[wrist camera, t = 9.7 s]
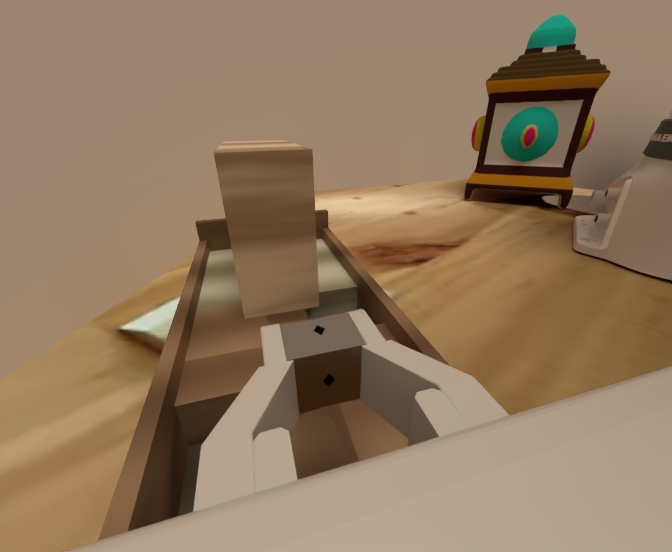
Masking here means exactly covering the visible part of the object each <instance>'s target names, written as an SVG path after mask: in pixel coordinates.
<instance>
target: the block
mask: <svg viewBox="0 0 672 552" xmlns="http://www.w3.org/2000/svg"><path fill="white" fill-rule="evenodd" d="M214 156H215V162H216V167H217V173H218V178H219V183H220V189H221V194H222V200H223V205H224V210H225V216H226V222H227V227H228V232H229V238H230V243H231V249H232V254H233V260H234V265H235V271H236V276H237V281H238V287H239V292H240V298H241V303H242V309H243V314H244V319H247V318H253V317H259V316H265V315H271V314H277V313H283V312H289V311H295V310H301V309H307V308H313V307H319V285H318V264H317V242H316V220H315V198H314V179H313V178H314V177H313V155H312V149H310V148H307V147H304V146H300V145H297V144H294V143H291V142H288V141H285V140H268V141H233V142H223V143H222V144H221V145H220V147H218V149H217V150H216V151H215V152H214Z"/></svg>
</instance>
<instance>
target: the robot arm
mask: <svg viewBox="0 0 672 552" xmlns="http://www.w3.org/2000/svg"><path fill="white" fill-rule="evenodd" d="M669 118H672V111H671V113H670V116H669ZM643 154H644V155H645V157H644V158H643V159H642V160H641V161H640V162H639V163H638V164H637V165H635V166H634V167H633V168H631V169H630V170H629V171H627V172H626V173H625V174H624V175H622V176H621V177H620V178H618V179H617V180H616V181H615V182H614V183H612V184H611V185H609V186H608V187H607V189H606V191H602V190H596V191H594V192H593V193H592V196H591V199H590V202H589V207H590V208H594V209H598V210H597V212H596V215H595V216H594V215H591V216H576V217H575V219H574V221H573V249H574V250H576V251H578V252H581V253H585V254H588V255H592V256H596V257H600V258H603V259H606V260H609V261H612V262H614V263H617V264H619V265H622V266H625V267H627V268H630V269H633V270H636V271H639V272H642V273H646V274H649V275H653V276H656V277H660V278H664V279H668V280H672V119H664V120H663V121H662V122H661V124H660V126H659V127H658V129H657V130H656V132H655V133H653V134H652V136H651V138H650V142H649V144H648V145H647V147H646V148H645V150H644V152H643ZM279 324H280V325H279ZM279 324H273V325H267V326H262V327H261V329H260V330H261V339H262V349H263V358H264V366H262V367H258V369H257V370H256V372H255V373H254V374H253V376H252V377H251V378H250V380H249V381H248V382H247V384H246V385H245V387H244V388H243V389H242V391H241V392H240V393H239V395H238V396H237V397H236V399H235V400H234V402H233V403H232V404H231V406H230V407H229V408H228V410H227V411H226V413H225V414H224V415H223V417H222V418H221V419H220V421H219V422H218V423H217V425H216V426H215V428H214V429H213V430H212V432H211V433H210V434H209V436H208V437H207V439H206V440H205V441H204V443H203V444H202V445H201V452H200V460H199V468H198V476H197V484H196V492H195V500H194V509H193V512H190V513H187V514H184V515H181V516H177V517H174V518H171V519H167V520H164V521H161V522H158V523H154V524H151V525H148V526H144V527H141V528H138V529H135V530H131V531H128V532H125V533H121V534H118V535H115V536H112V537H108V538H105V539H102V540H98V541H95V542H92V543H89V544H85V545H82V546H79V547H75V548H72V549H69V550H66V551H62V552H672V366H670V367H666V368H663V369H660V370H657V371H653V372H650V373H647V374H643V375H640V376H637V377H633V378H630V379H627V380H624V381H620V382H617V383H614V384H610V385H607V386H604V387H601V388H597V389H594V390H591V391H587V392H584V393H581V394H578V395H574V396H571V397H568V398H564V399H561V400H558V401H555V402H551V403H548V404H545V405H541V406H538V407H535V408H532V409H528V410H525V411H522V412H518V413H515V414H512V415H509V414H508V413H507V412H506V411H505V410H504V409H503V408H502V407H501V406H500V405H499V404H498V403H497V402H496V401H495V399H494V398H493V397H492V396H491V395H490V394H489V393H488V392H487V391H486V390H485V389H484V388H483V387H482V386H481V385H480V383H479V382H478V381H477V380H476V379H475V378H474V377H473V376H471V375H468V374H466V373H464V372H462V371H459V370H457V369H455V368H453V367H450V366H448V365H446V364H444V363H441V362H439V361H437V360H435V359H432V358H430V357H428V356H426V355H423V354H421V353H419V352H417V351H415V350H412V349H410V348H408V347H406V346H403V345H401V344H399V343H397V342H394V341H392V340H388V341H386V340H385V339H384V337H383V336H382V334H381V333H380V332H379V330H378V329H377V327H376V326H375V324H374V323H373V322H372V320H371V319H370V317H369V316H368V314H367V313H366V312H365V310H363V309H359V310H354V311H349V312H346V313H341V314H336V315H330V316H325V317H320V318H312V319H305V320H299V321H292V322H286V323H279ZM357 399H360V401H361V402H363V403H364V404H365V405H366V406H368V407H369V408H370V409H372V410H373V411H374V412H375V413H377V414H378V415H379V416H380V417H382V418H383V419H384V420H385V421H387V422H388V423H389V424H390V425H392V426H393V427H394V428H395V429H397V430H398V431H399V432H400V433H402V434H403V435H404V436H405V437H407V438H408V439H409V440H408V446H407V447H404V448H401V449H397V450H394V451H391V452H387V453H384V454H381V455H378V456H374V457H371V458H368V459H364V460H361V461H358V462H355V463H351V464H348V465H345V466H341V467H338V468H335V469H332V470H328V471H325V472H322V473H318V474H315V475H312V476H309V477H305V478H302V479H299V480H297V474H296V468H295V463H294V457H293V452H292V446H291V440H290V439H291V437H292V434H293V431H294V429H295V426H296V423H297V421H298V418H299V414H301V413H305V412H308V411H312V410H316V409H319V408H323V407H326V406H330V405H334V404H339V403H343V402H348V401H353V400H357Z"/></svg>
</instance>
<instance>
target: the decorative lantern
mask: <svg viewBox="0 0 672 552" xmlns="http://www.w3.org/2000/svg"><path fill="white" fill-rule="evenodd" d="M575 37H576V28H575V26H574V25H573V24H572V22H571V21H570V20H569V19H568V18H567V17H566V16H563V15H555V16H552V17H550V18H549V19H547V20H546V21H545V22H543V23H542V24H541V25H540V26H539V27H538V28H537V29H536V30H535V31H534V32H533V33H532V35H531V37H530V39H529V41H528V45H527V49H526V51H525V54H524V55H521V56H520V57H519V58H518V60H517V61H514V62H513V63H512V64H511V66H507V67H501V68H499V70H498V72H497V73H494V74H492V76H491V78H489V79H488V80H487V81H486V87H487V92H488V96H489V103H488V108H487V114H486V116H483V117H480V118H479V119H478V120H477V122H476V123H475V126H474V128H473V132H472V147H473V149H474V150H475V151H479V156H478V161H477V166H476V170H475V171H474V172H473V174H472V175H471V177H470V178H469V180H468V182H467V184H466V189H465V199H466V201H470V200H471V199H472V196H473V193H474V191H475V189H477V188H488V189H502V190H517V191H531V192H545V193H556V194H558V195H559V201H558V208H559V209H564V208H566V207H567V205H568V204H569V201H570V199H571V196H572V193H573V187H572V180H571V176H570V172H571V168H572V165H573V162H574V159H575V156H576V153H578V152H580V151H582V150H583V149H584V148H585V147H586V145H587V144H588V142H589V140H590V138H591V135H592V133H593V130H594V118H593V116H592V115H591V114H589V112H590V109H591V105H592V103H593V100H594V97H595V94H596V92H597V91H598V90H599V88H600V87H601V86H602V85H603V84H604V82H605V81H606V80H607V78H608V77H609V75H610V71H609V70H607V69H606V65H602V64H600V60H599V59H590V60H586V56H585V55H581V53H580V50H576V49H575V46H576V44H574V41H575Z"/></svg>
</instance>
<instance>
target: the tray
mask: <svg viewBox="0 0 672 552" xmlns="http://www.w3.org/2000/svg"><path fill="white" fill-rule="evenodd" d="M315 220H316V242H317V264H318V285H319V307H313V308H307V309H301V310H295V311H289V312H283V313H277V314H271V315H265V316H259V317H253V318H247V319H244V314H243V309H242V303H241V298H240V292H239V287H238V281H237V276H236V271H235V265H234V260H233V254H232V249H231V243H230V238H229V232H228V227H227V222H226V218H225V219H213V220H203V221H196V227H197V231H198V236H199V240H200V242H199V244H198V247H197V250H196V253H195V256H194V259H193V262H192V265H191V268H190V271H189V274H188V277H187V280H186V283H185V286H184V289H183V292H182V295H181V298H180V301H179V304H178V306H177V309H176V312H175V315H174V318H173V321H172V324H171V327H170V330H169V333H168V336H167V339H166V342H165V345H164V348H163V351H162V354H161V357H160V360H159V363H158V366H157V369H156V371H155V374H154V377H153V380H152V383H151V386H150V389H149V392H148V395H147V398H146V401H145V404H144V407H143V410H142V413H141V416H140V419H139V422H138V425H137V428H136V431H135V434H134V436H133V439H132V442H131V445H130V448H129V451H128V454H127V457H126V460H125V463H124V466H123V469H122V472H121V475H120V478H119V481H118V484H117V487H116V490H115V493H114V496H113V499H112V501H111V504H110V507H109V510H108V513H107V516H106V519H105V522H104V525H103V528H102V531H101V534H100V537H99V540H102V539H105V538H108V537H112V536H115V535H118V534H121V533H125V532H128V531H131V530H135V529H138V528H141V527H144V526H148V525H151V524H154V523H158V522H161V521H164V520H167V519H171V518H174V517H177V516H181V515H184V514H187V513H190V512H193V509H194V500H195V492H196V484H197V476H198V468H199V460H200V452H201V445H202V444H203V443H204V441H205V440H206V439H207V437H208V436H209V434H210V433H211V432H212V430H213V429H214V428H215V426H216V425H217V423H218V422H219V421H220V419H221V418H222V417H223V415H224V414H225V413H226V411H227V410H228V408H229V407H230V406H231V404H232V403H233V402H234V400H235V399H236V397H237V396H238V395H239V393H240V392H241V391H242V389H243V388H244V387H245V385H246V384H247V382H248V381H249V380H250V378H251V377H252V376H253V374H254V373H255V372H256V370H257V369H258V367H262V366H264V358H263V349H262V339H261V330H260V329H261V327H262V326H267V325H273V324H279V323H286V322H292V321H299V320H305V319H312V318H320V317H325V316H330V315H336V314H341V313H346V312H349V311H354V310H359V309H363V310H365V312H366V313H367V314H368V316H369V317H370V319H371V320H372V322H373V323H374V324H375V326H376V327H377V329H378V330H379V332H380V333H381V334H382V336H383V337H384V339H385V340H386V341H388V340H392V341H394V342H397V343H399V344H401V345H403V346H406V347H408V348H410V349H412V350H415V351H417V352H419V353H421V354H423V355H426V356H428V357H430V358H432V359H435V360H437V361H439V362H441V363H444V364H446V365H448V366H450V365H449V364H448V363H447V362H446V361H445V360H444V359H443V358H442V356H441V355H440V354H439V353H438V352H437V351H436V350H435V348H434V347H433V346H432V345H431V344H430V343H429V342H428V340H427V339H426V338H425V337H424V336H423V335H422V334H421V333H420V331H419V330H418V329H417V328H416V327H415V326H414V325H413V323H412V322H411V321H410V320H409V319H408V318H407V317H406V315H405V314H404V313H403V312H402V311H401V310H400V309H399V308H398V306H397V305H396V304H395V303H394V302H393V301H392V300H391V298H390V297H389V296H388V295H387V294H386V293H385V292H384V290H383V289H382V288H381V287H380V286H379V285H378V284H377V283H376V281H375V280H374V279H373V278H372V277H371V276H370V275H369V273H368V272H367V271H366V270H365V269H364V268H363V267H362V265H361V264H360V263H359V262H358V261H357V260H356V259H355V258H354V256H353V255H352V254H351V253H350V252H349V251H348V250H347V248H346V247H345V246H344V245H343V244H342V243H341V242H340V240H339V239H338V238H337V237H336V236H335V235H334V234H333V232H332V231H331V230H330V229H329V228H328V211H327V210H316V211H315ZM279 325H280V324H279ZM290 440H291V446H292V452H293V457H294V463H295V468H296V474H297V480H299V479H302V478H305V477H309V476H312V475H315V474H318V473H322V472H325V471H328V470H332V469H335V468H338V467H341V466H345V465H348V464H351V463H355V462H358V461H361V460H364V459H368V458H371V457H374V456H378V455H381V454H384V453H387V452H391V451H394V450H397V449H401V448H404V447H407V446H408V440H409V439H408V438H407V437H405V436H404V435H403V434H402V433H400V432H399V431H398V430H397V429H395V428H394V427H393V426H392V425H390V424H389V423H388V422H387V421H385V420H384V419H383V418H382V417H380V416H379V415H378V414H377V413H375V412H374V411H373V410H372V409H370V408H369V407H368V406H366V405H365V404H364V403H363V402H361V401H360V399H357V400H353V401H348V402H343V403H339V404H334V405H330V406H326V407H323V408H319V409H316V410H312V411H308V412H305V413H301V414H299V418H298V421H297V423H296V426H295V429H294V431H293V434H292V437H291V439H290Z"/></svg>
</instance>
